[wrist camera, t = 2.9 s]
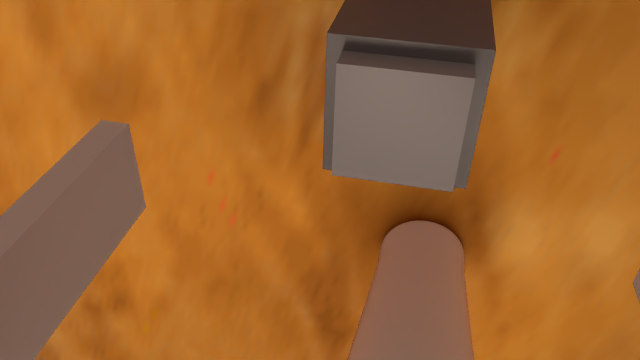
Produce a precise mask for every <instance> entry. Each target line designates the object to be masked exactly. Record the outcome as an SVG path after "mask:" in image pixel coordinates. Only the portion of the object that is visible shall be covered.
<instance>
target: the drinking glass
mask: <svg viewBox="0 0 640 360" xmlns="http://www.w3.org/2000/svg"><path fill="white" fill-rule="evenodd" d="M347 360H474V352H473V344H472V335H471V327H470V318H469V310H468V301H467V292H466V282H465V256H464V250H463V247H462V244H461V242H460V241H459V239H458V238H457V236H456V235H455V234H454V233H453V232H452V231H450V230H449V229H448V228H446V227H444V226H442V225H440V224H438V223H434V222H430V221H423V220H416V221H409V222H405V223H402V224H400V225H398V226H396V227H394V228H393V229H392V230H391V231H389V233H388V234H387V235H386V236H385V238H384V240H383V242H382V244H381V248H380V253H379V258H378V263H377V267H376V270H375V273H374V277H373V280H372V283H371V286H370V290H369V293H368V296H367V299H366V302H365V306H364V309H363V312H362V315H361V318H360V321H359V324H358V328H357V331H356V334H355V337H354V340H353V343H352V346H351V350H350V353H349V356H348V359H347Z"/></svg>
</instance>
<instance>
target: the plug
mask: <svg viewBox="0 0 640 360" xmlns="http://www.w3.org/2000/svg"><path fill="white" fill-rule="evenodd" d="M495 52H496V46H495V37H494V27H493V18H492V9H491V0H345V2H344V3H343V5H342V7H341V9H340V11H339V12H338V14H337V16H336V18H335V20H334V21H333V23H332V25H331V27H330V29H329V30H328V32H327V48H326V80H325V112H324V144H323V169H327V170H332V175H335V176H342V177H350V178H357V179H364V180H371V181H378V182H385V183H392V184H399V185H406V186H413V187H420V188H428V189H435V190H442V191H449V192H453V189H454V187H456V188H464V189H466V186H467V182H468V177H469V172H470V168H471V163H472V159H473V154H474V149H475V145H476V140H477V135H478V131H479V126H480V122H481V117H482V112H483V108H484V103H485V98H486V94H487V89H488V85H489V80H490V75H491V71H492V66H493V61H494V57H495Z"/></svg>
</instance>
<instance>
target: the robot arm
mask: <svg viewBox="0 0 640 360" xmlns="http://www.w3.org/2000/svg"><path fill="white" fill-rule="evenodd" d="M145 208H146V205H145V200H144V195H143V190H142V186H141V181H140V176H139V171H138V166H137V162H136V157H135V152H134V147H133V142H132V138H131V133H130V128H129V124H126V123H119V122H111V121H104V120H101V121H100V122H99V123H98V124H97V125H96V126H95V127H94V128H93V129H92V130H91V131H89V132H88V133H87V134H86V135H85V136H84V137H83V138H82V139H81V140H80V141H79V142H78V143H77V144H76V145H75V146H74V147H73V148H72V149H71V150H70V151H68V152H67V153H66V154H65V155H64V156H63V157H62V158H61V159H60V160H59V161H58V162H57V163H56V164H55V165H54V166H53V167H52V168H51V169H50V170H49V171H47V172H46V173H45V174H44V175H43V176H42V177H41V178H40V179H39V180H38V181H37V182H36V183H35V184H34V185H33V186H32V187H31V188H30V189H29V190H28V191H26V192H25V193H24V194H23V195H22V196H21V197H20V198H19V199H18V200H17V201H16V202H15V203H14V204H13V205H12V206H11V207H10V208H9V209H8V210H7V211H6V212H4V213H3V214H2V215H1V216H0V360H34V358H35V357H36V356H37V354H38V353H39V352H40V350H41V349H42V348H43V346H44V345H45V343H46V342H47V341H48V339H49V338H50V337H51V335H52V334H53V333H54V331H55V330H56V329H57V327H58V326H59V324H60V323H61V322H62V320H63V319H64V318H65V316H66V315H67V314H68V312H69V311H70V309H71V308H72V307H73V305H74V304H75V303H76V301H77V300H78V299H79V297H80V296H81V295H82V293H83V292H84V290H85V289H86V288H87V286H88V285H89V284H90V282H91V281H92V280H93V278H94V277H95V276H96V274H97V273H98V271H99V270H100V269H101V267H102V266H103V265H104V263H105V262H106V261H107V259H108V258H109V257H110V255H111V254H112V252H113V251H114V250H115V248H116V247H117V246H118V244H119V243H120V242H121V240H122V239H123V238H124V236H125V235H126V233H127V232H128V231H129V229H130V228H131V227H132V225H133V224H134V223H135V221H136V220H137V219H138V217H139V216H140V214H141V213H142V212H143V210H144V209H145ZM633 285H634V288H635V291H636V294H637V297H638V300H639V303H640V269H639V271H638V273H637V275H636V277H635V279H634V281H633Z"/></svg>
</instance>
